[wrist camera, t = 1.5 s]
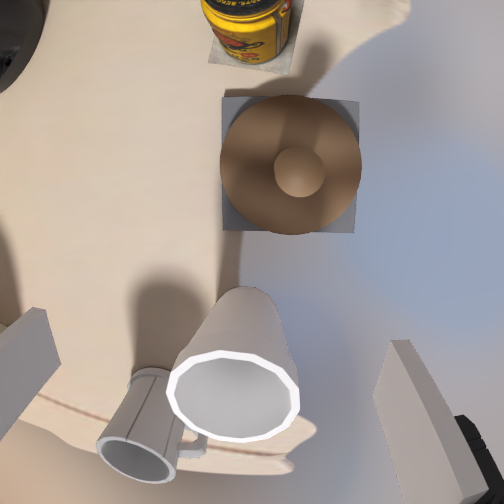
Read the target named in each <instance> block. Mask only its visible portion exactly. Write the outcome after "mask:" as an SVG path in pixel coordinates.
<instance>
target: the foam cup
mask: <svg viewBox="0 0 504 504" xmlns="http://www.w3.org/2000/svg"><path fill="white" fill-rule="evenodd" d="M166 395H167V397H168V400H169V403H170V405H171V408H172V410H173V413H174V414H176V415H177V416H178V417H179V418H180V419H181V420H182V421H183V422H184V423H185V424H186V425H187V426H189V427H190V428H191V429H192V430H195V431H197V432H199V433H201V434H204V435H206V436H208V437H210V438H213V439H215V440H222V441H230V442H238V443H245V442H251V441H257V440H263V439H268V438H270V437H272V436H274V435H275V434H277V433H279V432H281V431H282V430H284V429H286V428H288V427H289V425H290V424H291V422H292V421H293V419H294V418H295V416H296V415H297V413H298V412H299V410H300V401H299V386H298V374H297V367H296V366H295V364H294V363H293V361H292V359H291V356H290V352H289V348H288V345H287V342H286V338H285V335H284V332H283V329H282V325H281V322H280V318H279V315H278V312H277V309H276V306H275V304H274V302H273V301H272V300H271V298H270V297H269V295H268V294H266V293H264V292H263V291H261V290H259V289H257V288H255V287H246V286H240V287H237V288H234V289H230V290H228V291H227V292H226V293H225V294H224V295H223V296H222V297H221V298H219V300H218V301H217V302H216V304H215V305H214V307H213V308H212V310H211V311H210V313H209V314H208V316H207V317H206V319H205V320H204V322H203V323H202V324H201V326H200V327H199V329H198V330H197V332H196V333H195V335H194V336H193V338H192V339H191V341H190V342H189V344H188V345H187V346H186V347H185V348H184V349H183V350H182V351H181V352H179V354H178V356H177V359H176V361H175V363H174V366H173V368H172V370H171V373H170V377H169V381H168V385H167V389H166Z"/></svg>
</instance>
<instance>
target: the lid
mask: <svg viewBox="0 0 504 504" xmlns="http://www.w3.org/2000/svg"><path fill="white" fill-rule="evenodd" d="M361 170H362V163H361V154H360V149H359V145H358V142H357V140H356V138H355V135H354V133H353V131H352V130H351V128H350V127H349V125H348V124H347V123H346V121H345V120H344V119H343V118H342V117H341V116H340V115H339V114H338V113H337V112H336V111H334V110H333V109H332V108H330V107H329V106H327V105H325V104H324V103H322V102H320V101H317V100H315V99H312V98H308V97H304V96H297V95H282V96H275V97H271V98H268V99H265V100H262V101H260V102H258V103H256V104H254V105H253V106H251V107H250V108H248V109H247V110H246V111H244V112H243V113H242V114H241V115H240V116H239V117H238V118H237V119H236V120H235V121H234V123H233V124H232V126H231V127H230V129H229V131H228V133H227V135H226V137H225V139H224V142H223V145H222V149H221V154H220V174H221V179H222V183H223V186H224V189H225V192H226V194H227V196H228V198H229V200H230V201H231V203H232V204H233V205H234V207H235V208H236V209H237V210H238V211H239V213H240V214H241V215H242V216H244V217H245V218H246V219H247V220H248V221H250V222H251V223H253V224H254V225H256V226H258V227H260V228H262V229H264V230H267V231H270V232H273V233H278V234H286V235H298V234H305V233H310V232H313V231H316V230H319V229H321V228H323V227H325V226H327V225H329V224H330V223H332V222H333V221H334V220H336V219H337V218H338V217H339V216H340V215H341V214H342V213H343V212H344V211H345V210H346V209H347V207H348V206H349V205H350V203H351V202H352V200H353V198H354V196H355V194H356V192H357V189H358V187H359V182H360V179H361Z"/></svg>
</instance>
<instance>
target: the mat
mask: <svg viewBox="0 0 504 504" xmlns="http://www.w3.org/2000/svg"><path fill="white" fill-rule="evenodd" d="M268 98H271V97H222V145H223V142H224V139H225V137H226V135H227V133H228V131H229V129H230V127H231V126H232V124H233V123H234V121H235V120H236V119H237V118H238V117H239V116H240V115H241V114H242V113H243V112H244V111H246V110H247V109H248V108H250V107H251V106H253V105H254V104H256V103H258V102H260V101H262V100H265V99H268ZM312 99H315V100H317V101H320V102H322V103H324V104H325V105H327V106H329V107H330V108H332V109H333V110H334V111H336V112H337V113H338V114H339V115H340V116H341V117H342V118H343V119H344V120H345V121H346V123H347V124H348V125H349V127H350V128H351V130H352V131H353V133H354V135H355V138H356V140H357V142H358V145H359V102H354V101H343V100H331V99H318V98H312ZM356 197H357V192H356V194H355V196H354V198H353V200H352V202H351V203H350V205H349V206H348V207H347V209H346V210H345V211H344V212H343V213H342V214H341V215H340V216H339V217H338V218H337V219H336V220H334V221H333V222H332V223H330V224H329V225H327V226H325V227H323V228H321V229H319V230H316V231H313V232H332V233H354V224H355V212H356ZM222 212H223V230H242V231H267V230H264V229H262V228H260V227H258V226H256V225H254V224H253V223H251V222H250V221H248V220H247V219H246V218H245V217H244V216H242V215H241V214H240V213H239V211H238V210H237V209H236V208H235V207H234V205H233V204H232V203H231V201H230V200H229V198H228V196H227V194H226V192H225V189H224V186H223V183H222Z"/></svg>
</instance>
